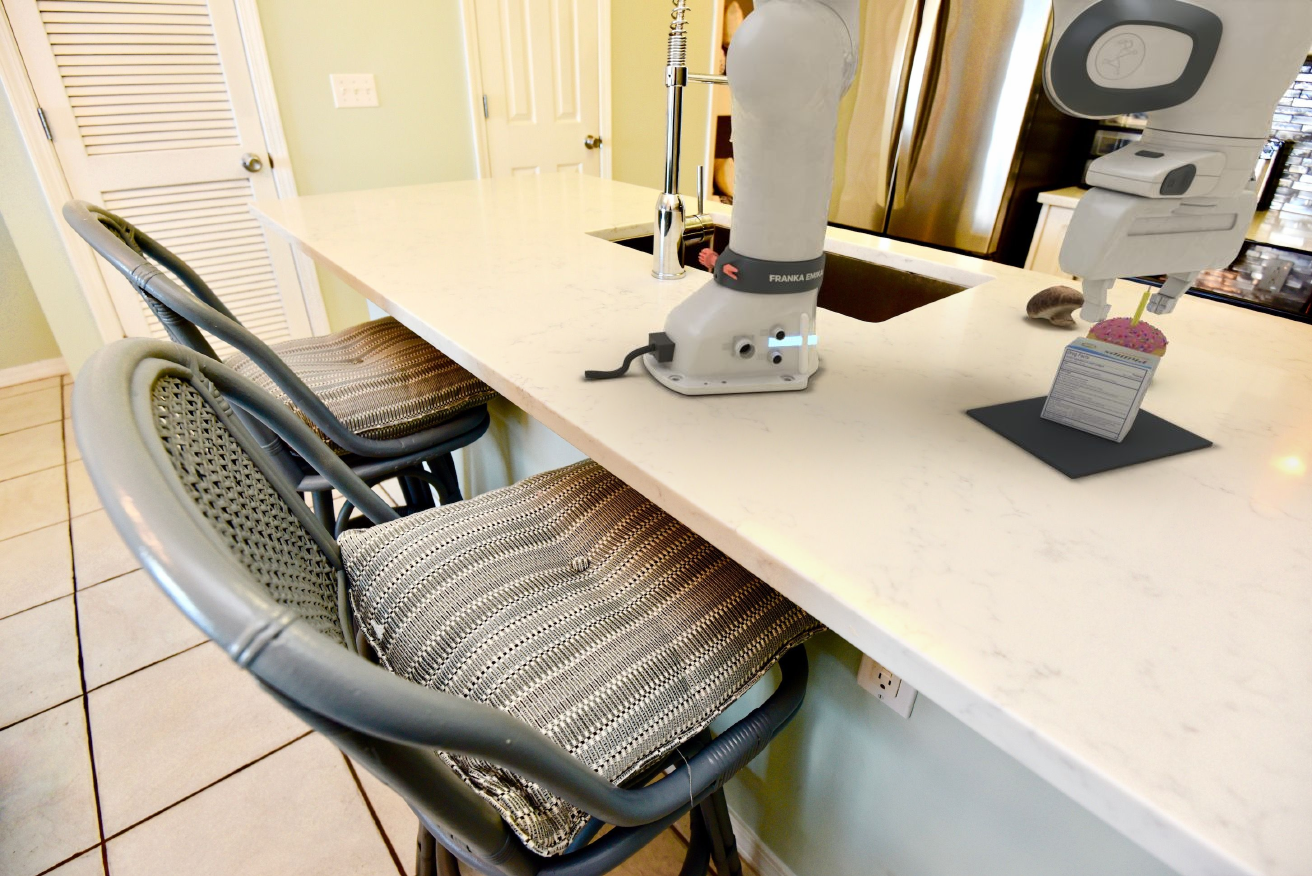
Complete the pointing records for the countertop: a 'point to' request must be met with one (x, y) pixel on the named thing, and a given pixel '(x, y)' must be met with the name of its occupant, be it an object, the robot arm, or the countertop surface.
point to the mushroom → (1055, 305)
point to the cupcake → (1131, 332)
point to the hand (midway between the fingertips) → (1125, 316)
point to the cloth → (1085, 438)
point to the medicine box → (1099, 387)
